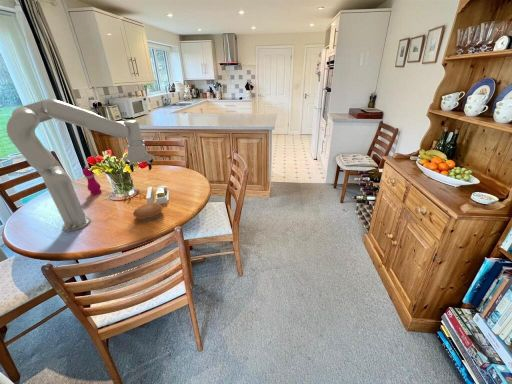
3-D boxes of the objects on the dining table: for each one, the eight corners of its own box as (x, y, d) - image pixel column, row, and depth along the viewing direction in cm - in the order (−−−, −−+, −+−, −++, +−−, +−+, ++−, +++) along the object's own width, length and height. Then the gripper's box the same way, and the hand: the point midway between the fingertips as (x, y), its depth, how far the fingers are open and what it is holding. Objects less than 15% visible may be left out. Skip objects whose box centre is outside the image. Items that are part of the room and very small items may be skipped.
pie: (169, 213, 136) (168, 205, 134) (145, 226, 125) (143, 218, 123) (153, 206, 144) (151, 198, 142) (129, 218, 132) (126, 210, 130)
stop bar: (159, 194, 157) (157, 186, 154) (165, 193, 158) (164, 185, 155) (158, 201, 148) (156, 193, 145) (165, 200, 149) (163, 192, 146)
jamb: (168, 202, 147) (167, 195, 144) (148, 206, 144) (146, 198, 141) (168, 191, 161) (167, 184, 159) (150, 193, 158) (148, 187, 156)
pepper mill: (104, 190, 164) (95, 163, 154) (97, 195, 157) (87, 167, 148) (95, 190, 164) (85, 163, 155) (87, 195, 158) (76, 167, 149)
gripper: (152, 140, 141) (157, 167, 149) (120, 142, 137) (127, 169, 144) (150, 143, 135) (156, 171, 142) (117, 145, 130) (124, 174, 138)
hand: (141, 170), depth 143 cm, fingers open, 9 cm apart
